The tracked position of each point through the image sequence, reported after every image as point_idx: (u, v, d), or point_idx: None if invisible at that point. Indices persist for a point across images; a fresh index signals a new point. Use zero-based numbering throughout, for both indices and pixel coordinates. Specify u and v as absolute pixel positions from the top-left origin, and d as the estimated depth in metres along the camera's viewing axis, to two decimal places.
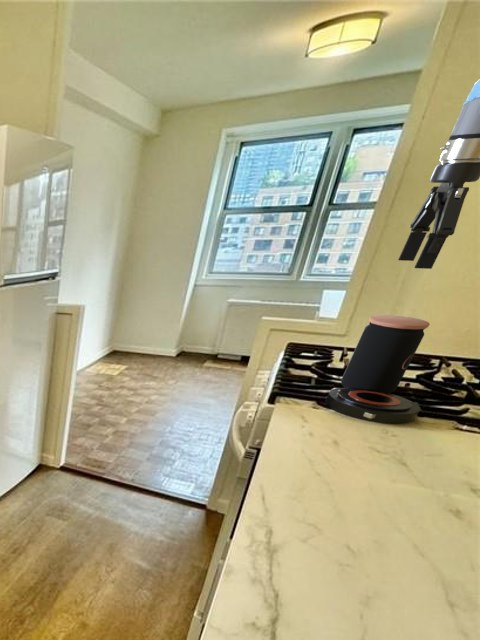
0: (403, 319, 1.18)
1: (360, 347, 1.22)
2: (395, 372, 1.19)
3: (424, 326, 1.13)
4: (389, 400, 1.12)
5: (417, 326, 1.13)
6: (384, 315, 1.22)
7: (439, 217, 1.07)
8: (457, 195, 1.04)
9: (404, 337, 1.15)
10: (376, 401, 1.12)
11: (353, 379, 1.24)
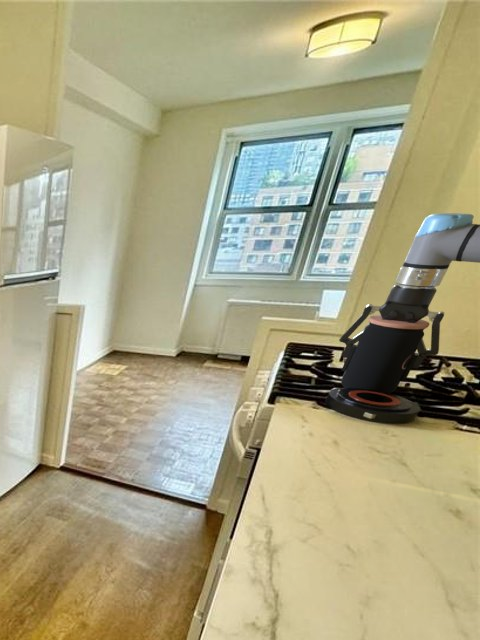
0: None
1: (360, 347, 1.22)
2: (394, 372, 1.19)
3: (424, 326, 1.13)
4: (389, 400, 1.12)
5: (417, 326, 1.13)
6: None
7: None
8: (441, 319, 1.13)
9: (404, 337, 1.15)
10: (376, 401, 1.12)
11: (353, 379, 1.24)
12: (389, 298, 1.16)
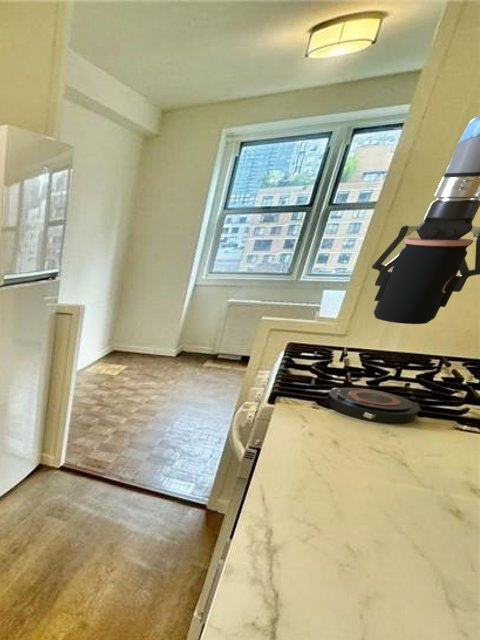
0: None
1: (396, 272, 1.13)
2: (434, 296, 1.10)
3: (468, 242, 1.05)
4: (389, 400, 1.12)
5: (460, 242, 1.04)
6: None
7: None
8: None
9: (446, 255, 1.06)
10: (376, 401, 1.12)
11: (388, 307, 1.15)
12: (428, 214, 1.08)
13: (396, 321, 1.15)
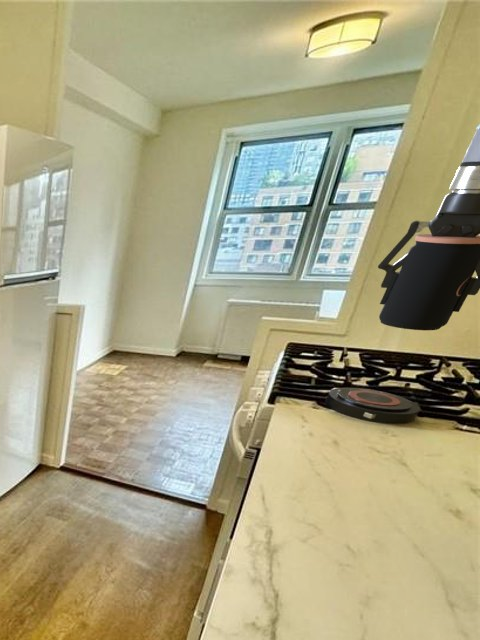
0: None
1: (404, 273, 1.02)
2: (447, 300, 0.99)
3: None
4: (389, 400, 1.12)
5: (477, 240, 0.93)
6: None
7: None
8: None
9: (461, 254, 0.95)
10: (376, 401, 1.12)
11: (395, 312, 1.04)
12: (442, 209, 0.96)
13: (404, 327, 1.04)
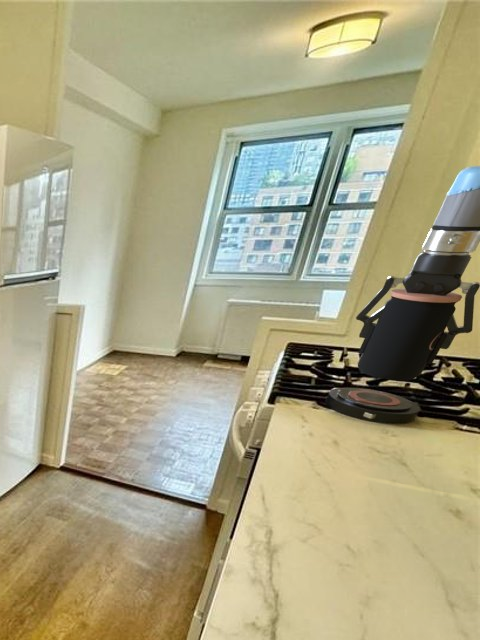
0: None
1: (381, 325, 1.07)
2: (421, 353, 1.03)
3: (456, 299, 0.98)
4: (389, 400, 1.12)
5: (448, 299, 0.98)
6: None
7: None
8: None
9: (433, 311, 1.00)
10: (376, 401, 1.12)
11: (372, 362, 1.09)
12: (415, 267, 1.01)
13: (380, 376, 1.09)
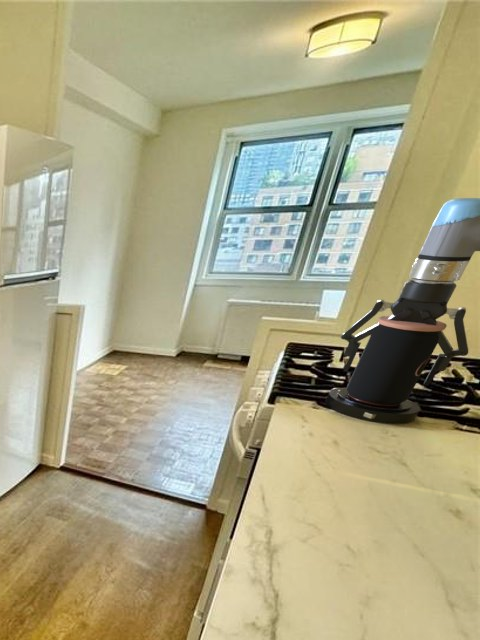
0: None
1: (368, 352, 1.10)
2: (407, 379, 1.06)
3: (441, 328, 1.01)
4: None
5: (433, 328, 1.01)
6: None
7: (444, 336, 1.02)
8: (463, 316, 1.00)
9: (418, 340, 1.02)
10: None
11: (360, 386, 1.12)
12: (402, 294, 1.04)
13: (368, 401, 1.11)
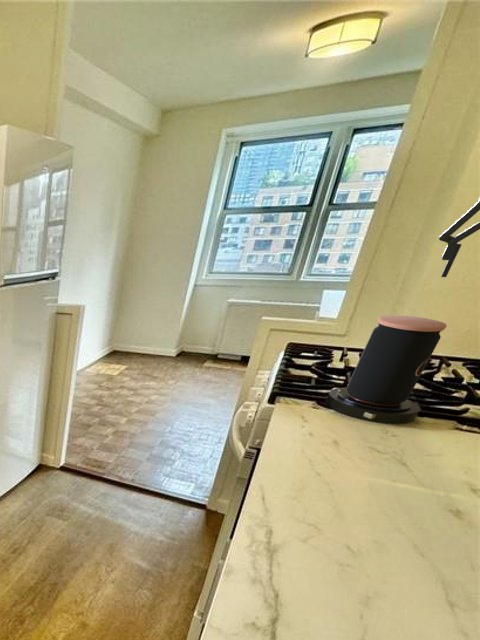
0: (416, 320, 1.06)
1: (368, 352, 1.10)
2: (407, 379, 1.06)
3: (441, 328, 1.01)
4: None
5: (433, 328, 1.01)
6: (395, 316, 1.09)
7: None
8: None
9: (418, 340, 1.02)
10: None
11: (360, 386, 1.12)
12: None
13: (368, 401, 1.11)
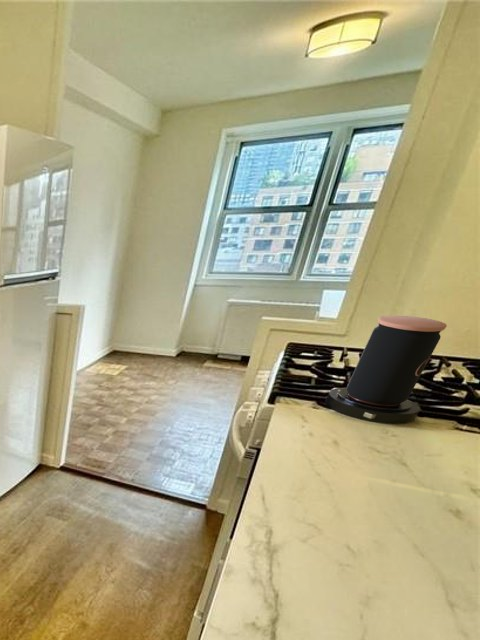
0: (416, 320, 1.06)
1: (368, 352, 1.10)
2: (407, 379, 1.06)
3: (441, 328, 1.01)
4: None
5: (433, 328, 1.01)
6: (395, 316, 1.09)
7: None
8: None
9: (418, 340, 1.02)
10: None
11: (360, 386, 1.12)
12: None
13: (368, 401, 1.11)
